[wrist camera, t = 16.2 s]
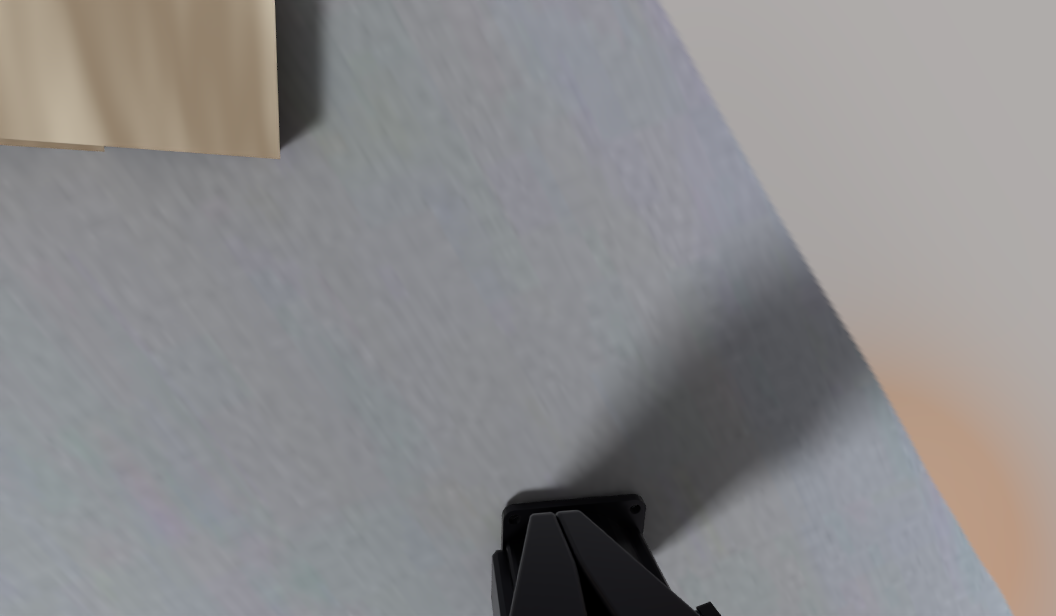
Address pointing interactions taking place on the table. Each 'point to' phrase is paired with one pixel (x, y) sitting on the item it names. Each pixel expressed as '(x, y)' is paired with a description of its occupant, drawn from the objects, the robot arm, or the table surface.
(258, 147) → the domino
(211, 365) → the table surface
